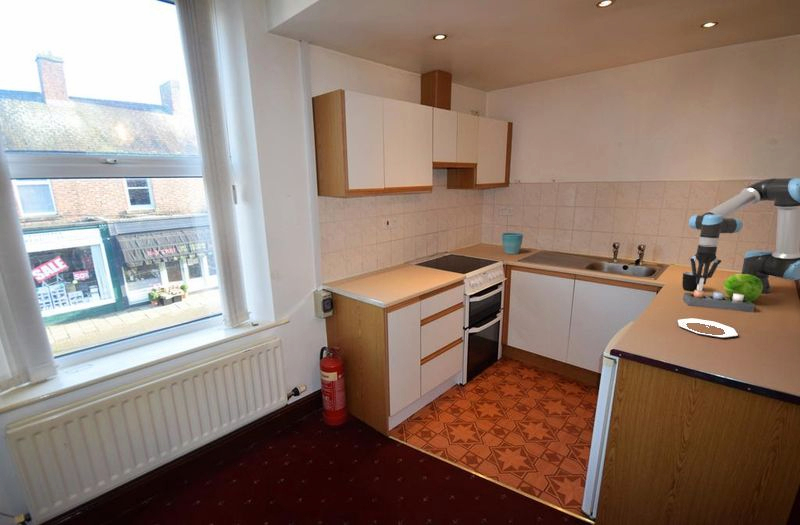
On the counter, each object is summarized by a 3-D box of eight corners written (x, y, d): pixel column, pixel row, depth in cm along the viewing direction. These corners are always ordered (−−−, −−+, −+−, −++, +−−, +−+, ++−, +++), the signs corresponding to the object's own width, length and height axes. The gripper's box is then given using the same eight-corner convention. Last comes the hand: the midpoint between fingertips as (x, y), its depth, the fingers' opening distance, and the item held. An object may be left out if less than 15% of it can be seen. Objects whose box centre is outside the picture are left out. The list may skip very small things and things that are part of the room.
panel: (744, 305, 189) (745, 298, 188) (753, 312, 180) (754, 304, 179) (682, 299, 199) (683, 292, 198) (688, 305, 190) (689, 298, 189)
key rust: (701, 297, 193) (702, 290, 192) (704, 299, 190) (705, 292, 189) (692, 296, 195) (693, 289, 194) (694, 298, 191) (695, 291, 190)
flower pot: (501, 254, 318) (502, 235, 315) (499, 250, 336) (500, 232, 332) (523, 255, 316) (524, 235, 312) (520, 251, 333) (521, 232, 329)
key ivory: (740, 301, 187) (742, 293, 186) (743, 303, 183) (745, 296, 182) (730, 300, 188) (731, 292, 187) (733, 302, 185) (735, 295, 184)
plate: (741, 343, 148) (741, 340, 147) (680, 333, 158) (680, 330, 157) (730, 327, 164) (731, 323, 164) (675, 318, 174) (676, 315, 174)
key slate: (720, 299, 190) (722, 292, 189) (723, 301, 186) (725, 294, 185) (711, 298, 192) (712, 291, 191) (713, 300, 188) (715, 293, 187)
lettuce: (713, 290, 212) (748, 297, 205) (725, 301, 192) (764, 310, 185) (723, 266, 207) (758, 272, 201) (735, 275, 188) (776, 283, 181)
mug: (701, 293, 210) (704, 276, 208) (682, 291, 214) (685, 274, 212) (696, 287, 220) (699, 271, 218) (678, 285, 224) (681, 269, 222)
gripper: (721, 245, 187) (712, 289, 192) (689, 243, 192) (681, 286, 197) (726, 247, 180) (717, 293, 185) (694, 245, 185) (686, 290, 190)
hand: (699, 290), depth 191 cm, fingers closed
